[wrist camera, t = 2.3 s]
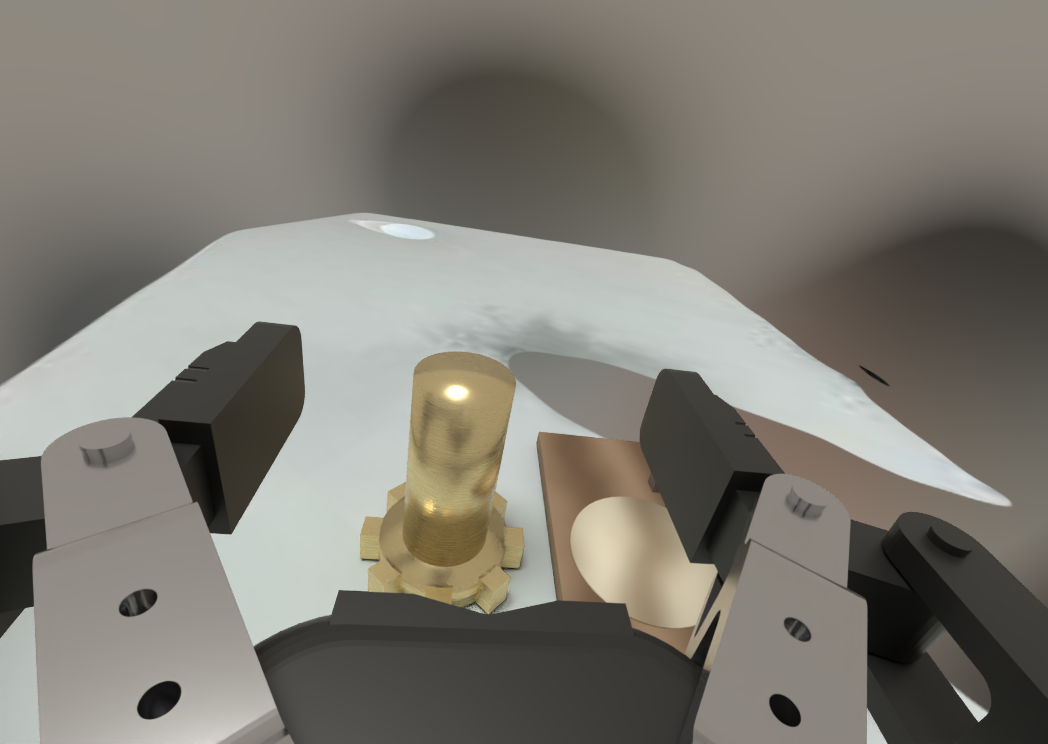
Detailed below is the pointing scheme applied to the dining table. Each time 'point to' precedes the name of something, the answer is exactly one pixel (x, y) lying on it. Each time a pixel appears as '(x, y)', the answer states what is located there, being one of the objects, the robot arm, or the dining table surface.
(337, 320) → the dining table surface
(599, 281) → the dining table surface
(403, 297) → the dining table surface
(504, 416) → the cylinder
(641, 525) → the gear board
